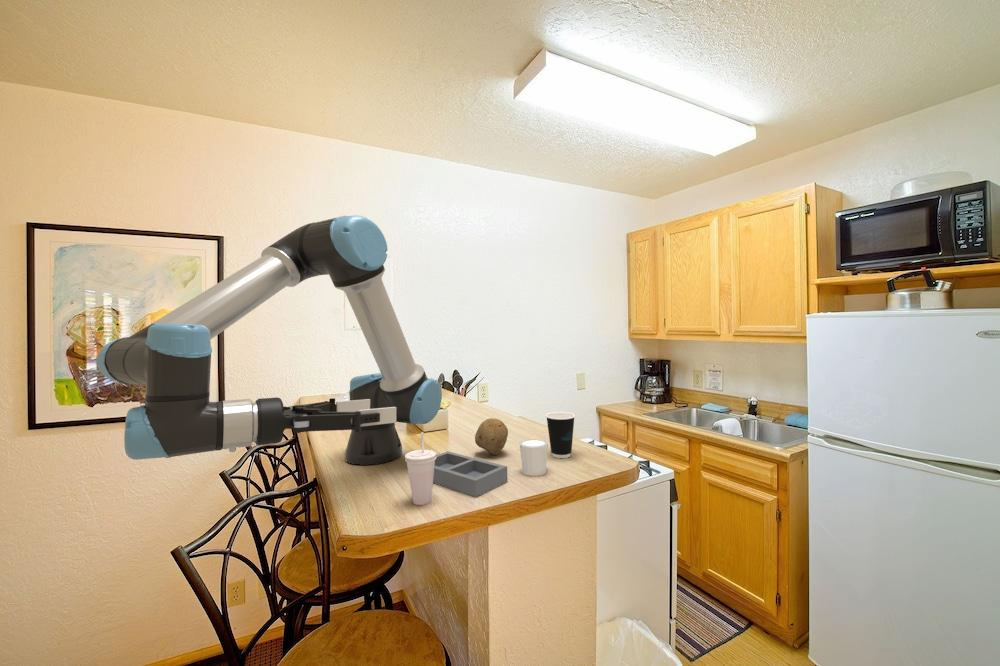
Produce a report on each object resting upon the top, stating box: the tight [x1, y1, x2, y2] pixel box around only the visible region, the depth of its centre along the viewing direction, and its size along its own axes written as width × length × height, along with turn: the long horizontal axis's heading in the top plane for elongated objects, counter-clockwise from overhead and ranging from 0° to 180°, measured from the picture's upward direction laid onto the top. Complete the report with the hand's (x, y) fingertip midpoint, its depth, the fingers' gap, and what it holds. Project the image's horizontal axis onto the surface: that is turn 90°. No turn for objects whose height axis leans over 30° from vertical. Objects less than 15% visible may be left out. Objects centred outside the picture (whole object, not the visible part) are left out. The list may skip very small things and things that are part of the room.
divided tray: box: [433, 451, 508, 498], centre depth 95 cm, size 20×10×4 cm, turn 50°
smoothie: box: [404, 431, 437, 506], centre depth 84 cm, size 6×6×14 cm
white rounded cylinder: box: [519, 439, 549, 477], centre depth 99 cm, size 7×7×7 cm
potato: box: [474, 417, 509, 456], centre depth 113 cm, size 9×9×10 cm
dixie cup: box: [545, 411, 576, 459], centre depth 110 cm, size 8×8×11 cm
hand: (381, 409), depth 79 cm, fingers open, 13 cm apart
